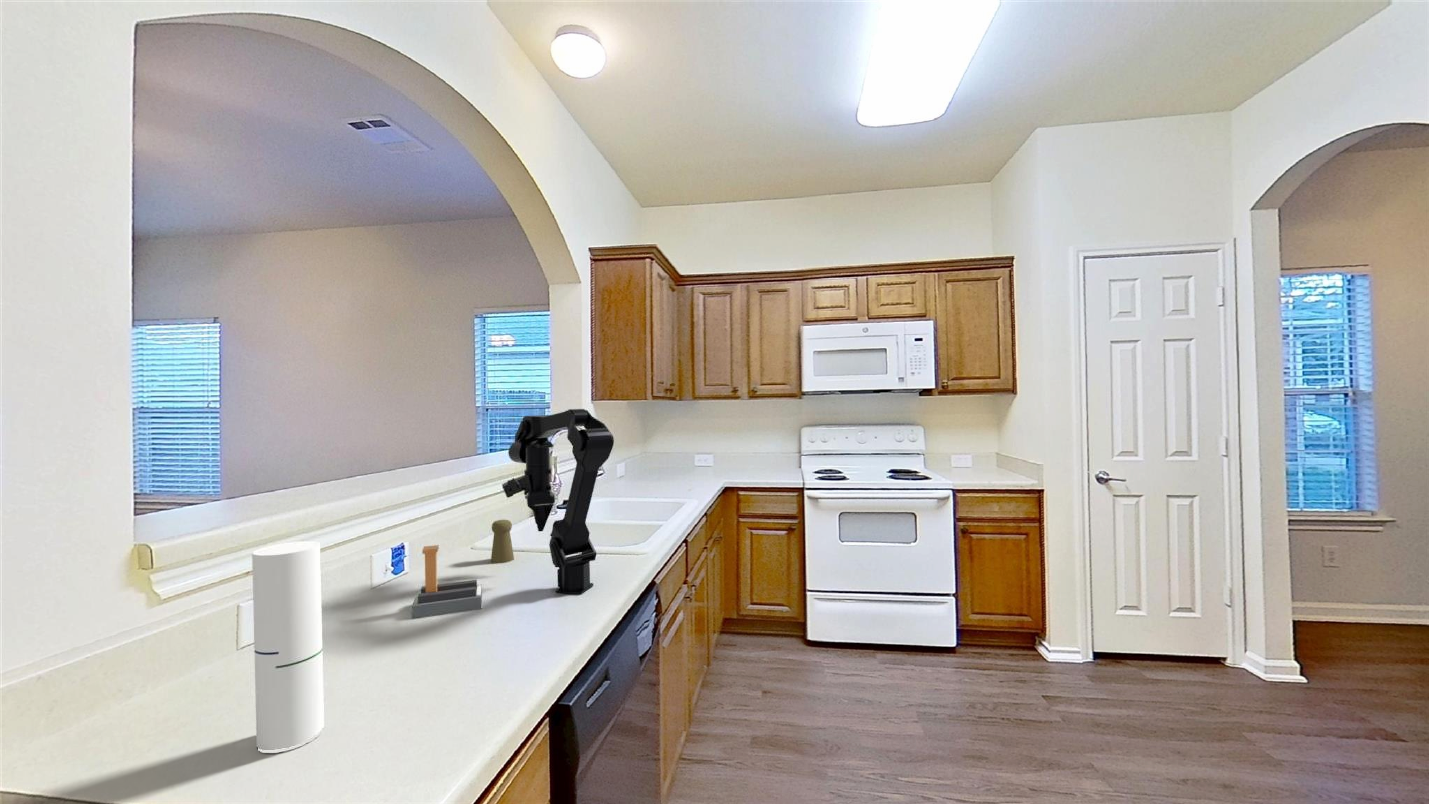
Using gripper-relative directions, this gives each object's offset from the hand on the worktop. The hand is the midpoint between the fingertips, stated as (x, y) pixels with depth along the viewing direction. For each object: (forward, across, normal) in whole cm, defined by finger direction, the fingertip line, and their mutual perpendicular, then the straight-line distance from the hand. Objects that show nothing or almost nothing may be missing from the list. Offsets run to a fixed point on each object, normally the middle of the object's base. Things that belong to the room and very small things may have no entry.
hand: (539, 527), depth 143 cm
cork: (+12, -19, -9) cm, 24 cm away
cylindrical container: (+12, +59, -36) cm, 70 cm away
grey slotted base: (+12, +15, -20) cm, 27 cm away
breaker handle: (+9, +15, -23) cm, 29 cm away
